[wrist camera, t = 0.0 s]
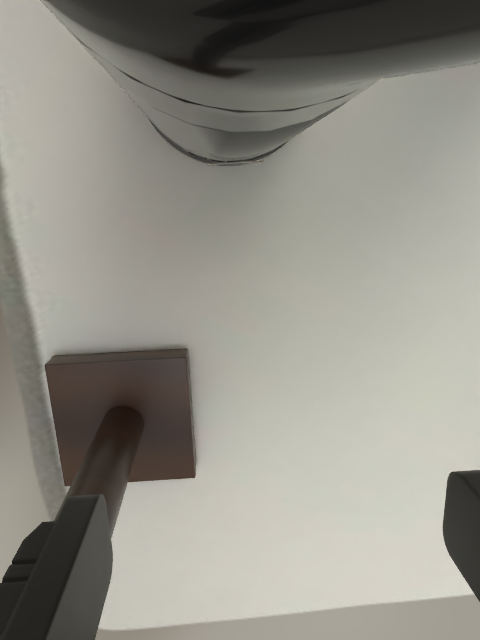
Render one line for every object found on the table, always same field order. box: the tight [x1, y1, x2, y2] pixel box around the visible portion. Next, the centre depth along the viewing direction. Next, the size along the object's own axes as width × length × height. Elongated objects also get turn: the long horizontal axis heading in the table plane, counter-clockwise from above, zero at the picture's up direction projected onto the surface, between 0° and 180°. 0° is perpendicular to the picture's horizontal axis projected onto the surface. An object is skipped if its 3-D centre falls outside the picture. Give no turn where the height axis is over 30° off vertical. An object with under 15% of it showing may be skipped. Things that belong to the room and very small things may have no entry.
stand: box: [45, 349, 196, 537], centre depth 21 cm, size 8×8×16 cm
